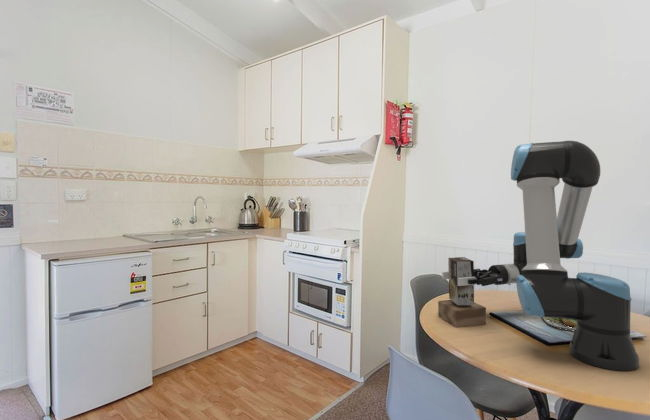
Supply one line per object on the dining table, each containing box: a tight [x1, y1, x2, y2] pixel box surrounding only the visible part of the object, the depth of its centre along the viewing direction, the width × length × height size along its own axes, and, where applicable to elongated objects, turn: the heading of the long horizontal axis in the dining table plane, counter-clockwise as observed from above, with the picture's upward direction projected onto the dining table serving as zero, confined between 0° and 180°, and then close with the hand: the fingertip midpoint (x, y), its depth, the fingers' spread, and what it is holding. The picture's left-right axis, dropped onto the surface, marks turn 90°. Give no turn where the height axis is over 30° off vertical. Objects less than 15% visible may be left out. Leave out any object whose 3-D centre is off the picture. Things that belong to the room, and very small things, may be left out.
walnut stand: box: [437, 299, 487, 328], centre depth 129 cm, size 12×12×6 cm
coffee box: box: [447, 256, 475, 305], centre depth 129 cm, size 9×6×16 cm
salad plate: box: [540, 317, 577, 332], centre depth 122 cm, size 19×18×5 cm
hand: (450, 278), depth 128 cm, fingers closed on coffee box, 10 cm apart
